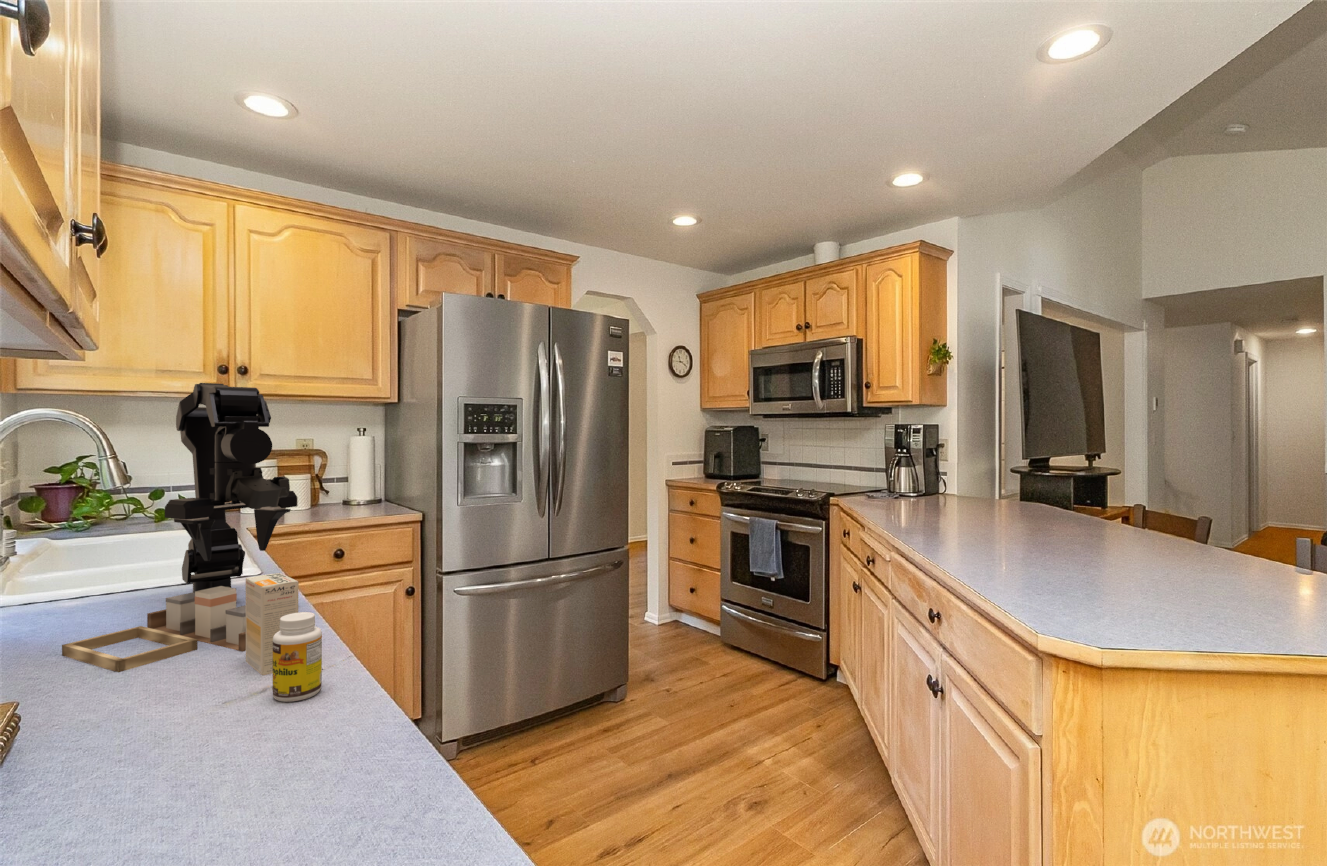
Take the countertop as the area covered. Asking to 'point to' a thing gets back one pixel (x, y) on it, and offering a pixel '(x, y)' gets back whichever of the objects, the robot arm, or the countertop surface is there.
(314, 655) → the supplement bottle
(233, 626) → the block
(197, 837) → the countertop surface
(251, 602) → the supplement box
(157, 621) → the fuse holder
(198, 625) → the beige striped box
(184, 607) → the grey beige rectangular block
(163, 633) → the tray
